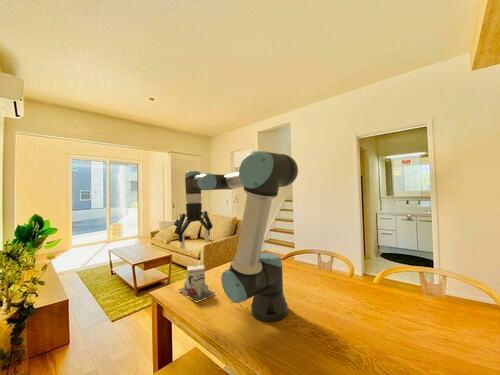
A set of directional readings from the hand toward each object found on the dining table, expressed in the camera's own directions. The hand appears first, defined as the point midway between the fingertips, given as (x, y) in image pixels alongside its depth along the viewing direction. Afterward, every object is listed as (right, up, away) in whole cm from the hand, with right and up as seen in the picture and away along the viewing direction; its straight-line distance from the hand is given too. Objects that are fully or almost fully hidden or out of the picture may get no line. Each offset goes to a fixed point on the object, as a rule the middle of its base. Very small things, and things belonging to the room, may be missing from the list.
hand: (195, 245), depth 106 cm
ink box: (+1, -23, 0) cm, 23 cm away
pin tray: (+1, -24, 0) cm, 24 cm away
